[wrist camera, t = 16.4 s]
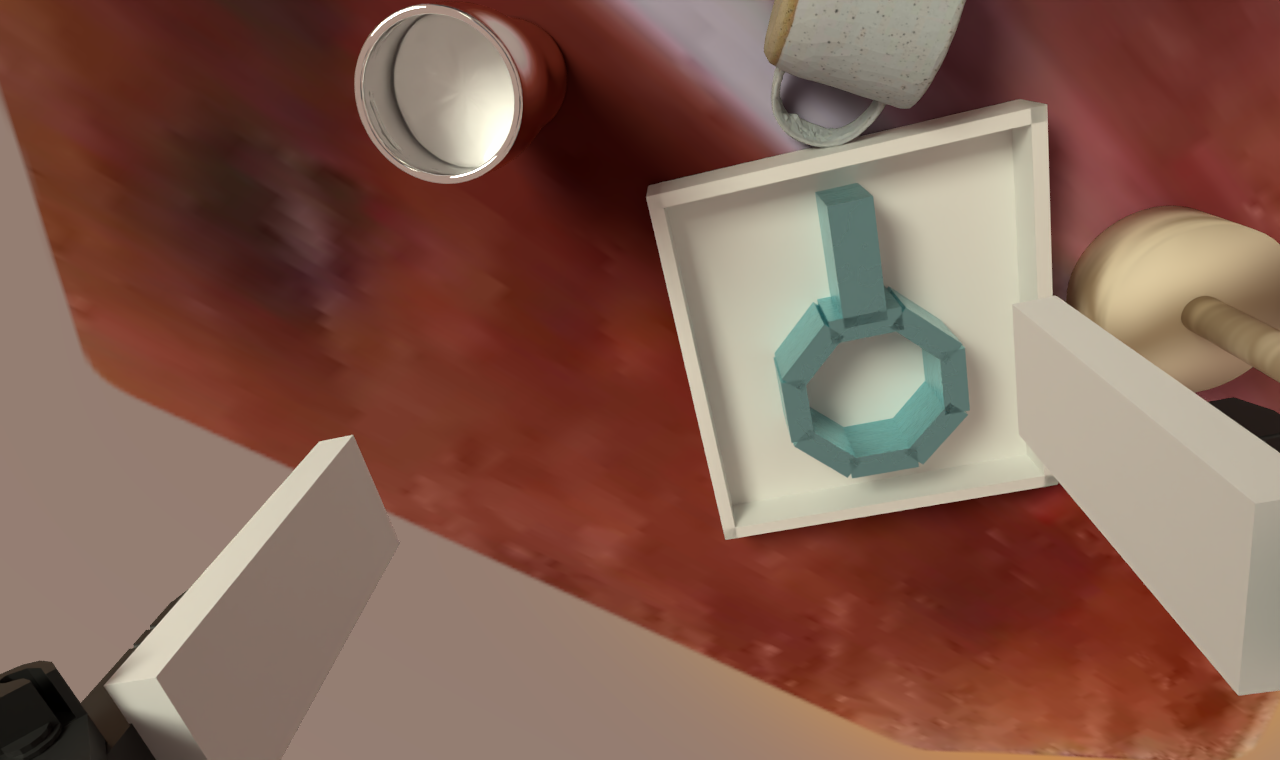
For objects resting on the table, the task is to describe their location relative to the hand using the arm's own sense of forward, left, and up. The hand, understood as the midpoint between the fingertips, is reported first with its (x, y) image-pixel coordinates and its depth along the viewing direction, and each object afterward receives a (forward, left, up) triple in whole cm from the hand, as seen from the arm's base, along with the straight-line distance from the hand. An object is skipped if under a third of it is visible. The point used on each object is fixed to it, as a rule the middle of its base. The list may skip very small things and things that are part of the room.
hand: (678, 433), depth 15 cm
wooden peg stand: (+13, +26, -33) cm, 44 cm away
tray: (+12, +9, -33) cm, 36 cm away
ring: (+11, +8, -32) cm, 35 cm away
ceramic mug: (-5, +10, -33) cm, 35 cm away
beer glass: (-7, -8, -33) cm, 35 cm away
